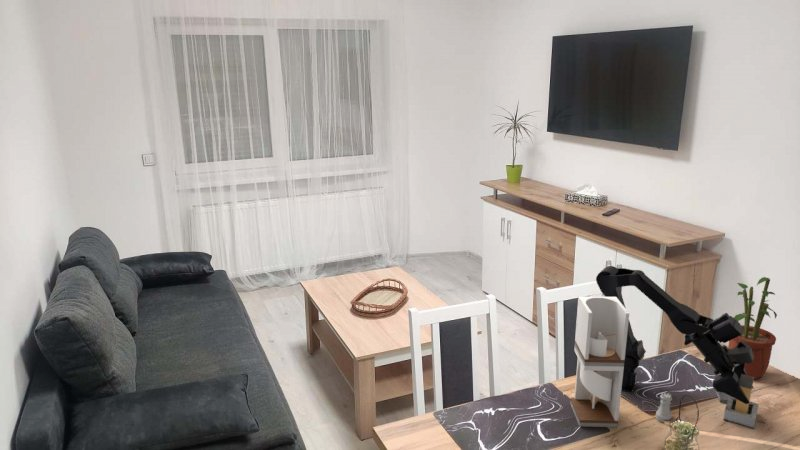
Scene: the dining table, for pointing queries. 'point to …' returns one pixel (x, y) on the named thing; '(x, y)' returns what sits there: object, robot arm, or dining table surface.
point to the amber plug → (745, 392)
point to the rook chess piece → (664, 408)
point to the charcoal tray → (722, 397)
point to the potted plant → (755, 332)
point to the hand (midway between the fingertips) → (749, 395)
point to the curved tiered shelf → (599, 360)
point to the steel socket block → (740, 414)
